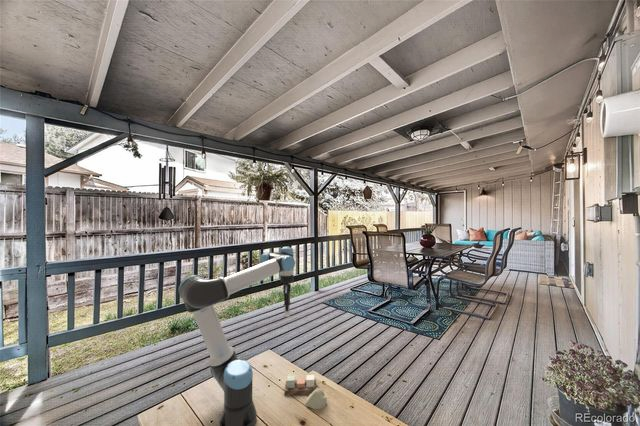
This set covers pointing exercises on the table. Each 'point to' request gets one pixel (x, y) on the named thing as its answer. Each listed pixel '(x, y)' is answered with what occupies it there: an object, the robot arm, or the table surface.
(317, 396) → the grey rounded lump
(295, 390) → the walnut board
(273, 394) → the table surface
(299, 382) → the button terracotta
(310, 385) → the button cream
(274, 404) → the table surface
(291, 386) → the button sage
